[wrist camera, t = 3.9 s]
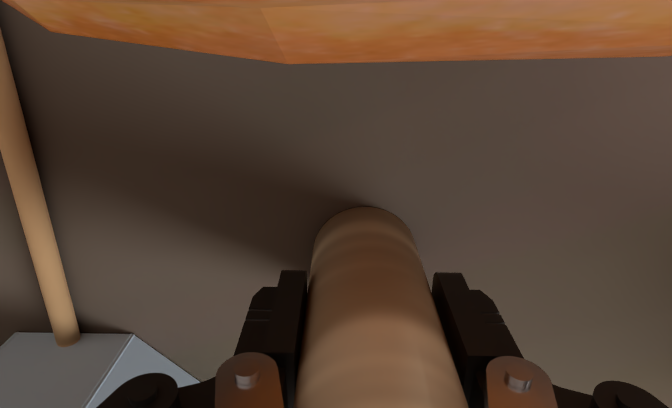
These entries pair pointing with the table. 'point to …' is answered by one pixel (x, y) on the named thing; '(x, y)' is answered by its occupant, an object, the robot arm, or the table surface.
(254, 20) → the bread
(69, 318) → the wooden stick
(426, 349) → the dowel
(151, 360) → the bead
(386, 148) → the table surface
